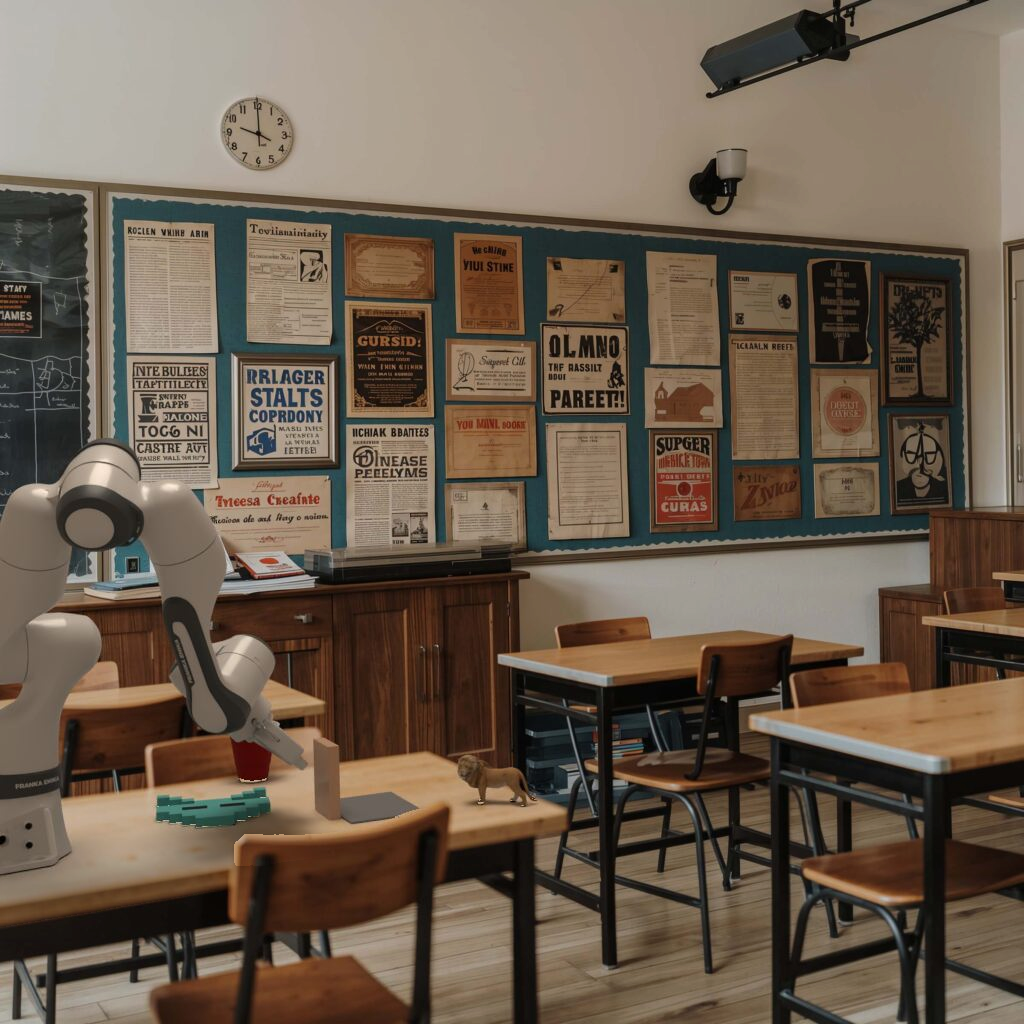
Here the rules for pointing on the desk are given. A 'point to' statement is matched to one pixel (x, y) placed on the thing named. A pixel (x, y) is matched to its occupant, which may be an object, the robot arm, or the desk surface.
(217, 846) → the desk surface
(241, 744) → the plastic cup
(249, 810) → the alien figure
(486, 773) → the lion figurine
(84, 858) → the desk surface
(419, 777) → the desk surface
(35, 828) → the robot arm
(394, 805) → the mat
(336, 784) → the tile
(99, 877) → the desk surface
